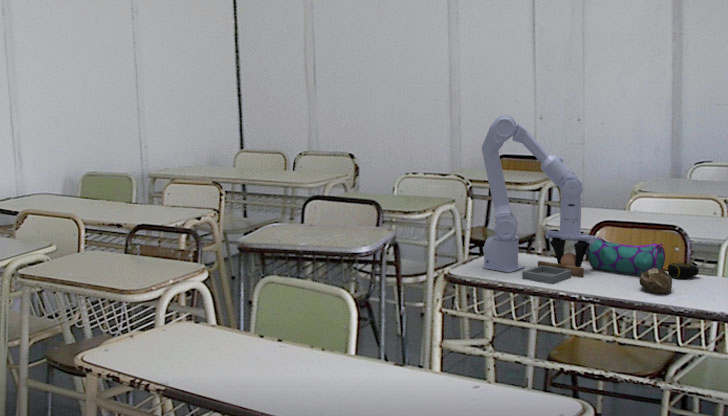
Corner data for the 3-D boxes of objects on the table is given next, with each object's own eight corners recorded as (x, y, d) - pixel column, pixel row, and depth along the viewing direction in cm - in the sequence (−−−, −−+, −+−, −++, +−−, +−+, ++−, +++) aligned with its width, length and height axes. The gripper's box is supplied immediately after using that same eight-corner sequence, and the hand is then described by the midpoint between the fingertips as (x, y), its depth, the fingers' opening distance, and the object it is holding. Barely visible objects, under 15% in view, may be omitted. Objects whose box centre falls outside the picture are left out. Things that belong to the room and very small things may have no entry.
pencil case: (583, 270, 239) (584, 237, 237) (596, 265, 246) (597, 232, 244) (655, 280, 226) (657, 246, 224) (667, 274, 233) (668, 240, 231)
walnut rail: (537, 270, 240) (537, 261, 240) (539, 269, 241) (540, 260, 241) (581, 277, 230) (581, 268, 230) (583, 276, 231) (583, 267, 231)
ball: (557, 270, 239) (557, 253, 238) (566, 267, 243) (566, 250, 242) (572, 273, 236) (573, 255, 235) (581, 269, 239) (582, 252, 238)
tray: (522, 278, 231) (522, 271, 230) (541, 272, 237) (541, 265, 237) (552, 284, 224) (552, 276, 224) (571, 277, 231) (571, 270, 230)
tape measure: (699, 278, 228) (700, 265, 227) (682, 281, 225) (682, 268, 224) (679, 273, 234) (680, 260, 233) (662, 276, 231) (662, 263, 230)
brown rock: (634, 276, 221) (636, 291, 212) (649, 256, 219) (651, 271, 210) (659, 291, 221) (662, 307, 212) (674, 271, 218) (678, 287, 209)
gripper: (540, 218, 238) (539, 264, 241) (588, 223, 229) (586, 271, 231) (552, 214, 244) (551, 260, 246) (599, 219, 234) (598, 266, 237)
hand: (569, 265), depth 239 cm, fingers closed on ball, 5 cm apart
